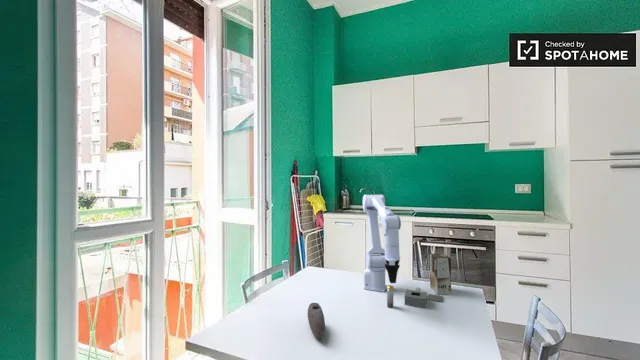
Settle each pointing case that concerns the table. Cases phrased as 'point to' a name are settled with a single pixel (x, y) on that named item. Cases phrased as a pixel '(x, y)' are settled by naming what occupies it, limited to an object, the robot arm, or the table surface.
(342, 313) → the table surface
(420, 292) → the block
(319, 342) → the table surface
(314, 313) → the perforated stone tool
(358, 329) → the table surface
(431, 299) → the mat
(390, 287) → the key peg
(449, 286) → the coffee box
